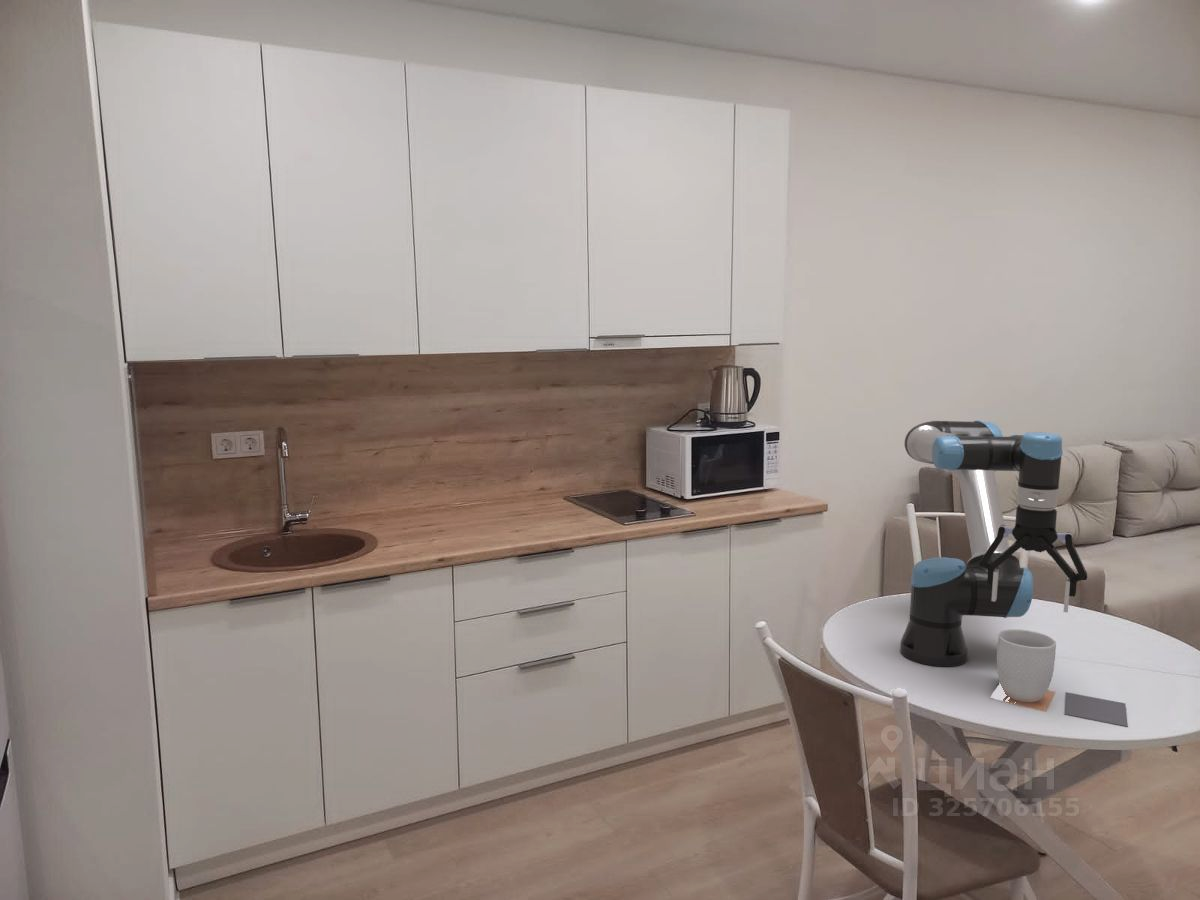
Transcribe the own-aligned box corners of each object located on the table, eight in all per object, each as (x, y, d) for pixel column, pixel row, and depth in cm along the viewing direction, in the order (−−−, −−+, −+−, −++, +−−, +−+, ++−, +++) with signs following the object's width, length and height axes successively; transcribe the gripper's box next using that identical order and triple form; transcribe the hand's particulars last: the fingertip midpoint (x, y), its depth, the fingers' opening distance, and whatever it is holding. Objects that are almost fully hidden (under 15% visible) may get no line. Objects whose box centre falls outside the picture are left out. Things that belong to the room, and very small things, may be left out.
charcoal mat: (1064, 717, 171) (1064, 713, 171) (1065, 695, 182) (1065, 692, 181) (1127, 730, 166) (1127, 726, 166) (1125, 706, 176) (1125, 703, 176)
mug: (975, 679, 189) (978, 623, 187) (1021, 677, 189) (1025, 622, 188) (1012, 708, 174) (1017, 648, 172) (1063, 706, 175) (1068, 646, 173)
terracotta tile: (988, 701, 179) (988, 697, 179) (1000, 682, 189) (1000, 679, 188) (1046, 715, 173) (1046, 711, 172) (1055, 695, 182) (1055, 691, 182)
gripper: (969, 503, 178) (963, 600, 181) (1106, 517, 165) (1097, 620, 168) (974, 497, 184) (968, 590, 187) (1106, 510, 172) (1097, 609, 175)
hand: (1029, 605), depth 178 cm, fingers open, 13 cm apart
